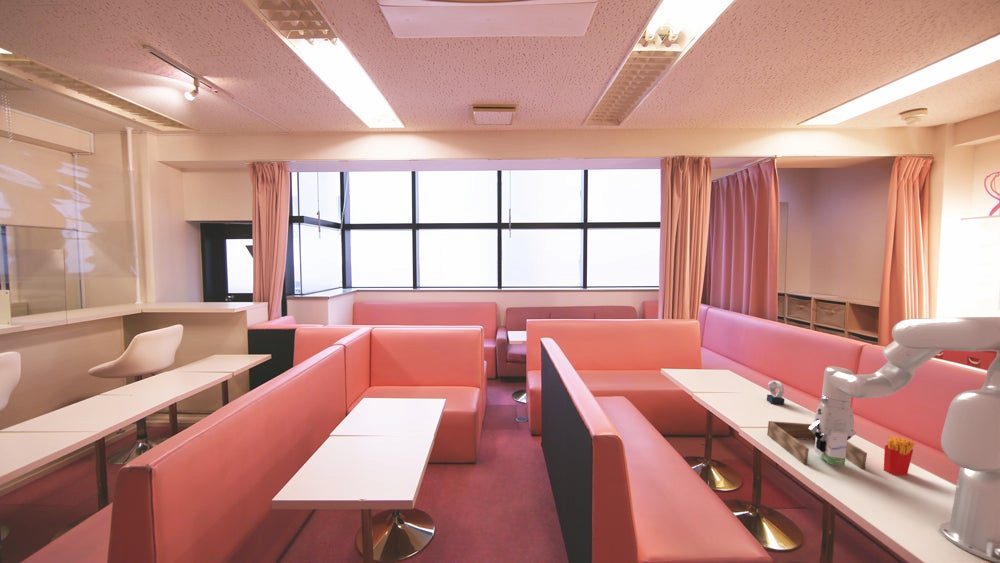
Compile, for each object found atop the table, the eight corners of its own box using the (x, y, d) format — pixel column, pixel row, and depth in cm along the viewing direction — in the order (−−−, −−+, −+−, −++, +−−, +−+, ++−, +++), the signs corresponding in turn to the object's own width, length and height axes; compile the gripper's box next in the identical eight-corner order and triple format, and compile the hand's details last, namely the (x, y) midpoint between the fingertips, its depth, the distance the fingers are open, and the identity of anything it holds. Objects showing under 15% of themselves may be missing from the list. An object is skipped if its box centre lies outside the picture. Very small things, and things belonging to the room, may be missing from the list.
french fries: (890, 475, 122) (895, 442, 121) (877, 468, 126) (882, 435, 125) (914, 475, 122) (919, 442, 121) (901, 468, 126) (906, 436, 125)
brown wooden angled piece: (864, 469, 125) (867, 453, 125) (803, 464, 127) (805, 448, 126) (819, 438, 145) (821, 424, 144) (767, 435, 147) (768, 421, 146)
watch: (776, 399, 183) (778, 379, 182) (786, 406, 175) (788, 385, 174) (764, 398, 184) (766, 378, 183) (773, 405, 176) (775, 383, 175)
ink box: (845, 466, 124) (849, 433, 123) (828, 463, 125) (832, 431, 124) (828, 452, 132) (832, 422, 131) (813, 450, 133) (816, 420, 132)
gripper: (817, 404, 124) (812, 454, 125) (871, 408, 122) (865, 458, 124) (801, 396, 131) (796, 443, 133) (852, 399, 130) (846, 447, 131)
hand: (829, 450), depth 128 cm, fingers closed on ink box, 5 cm apart
